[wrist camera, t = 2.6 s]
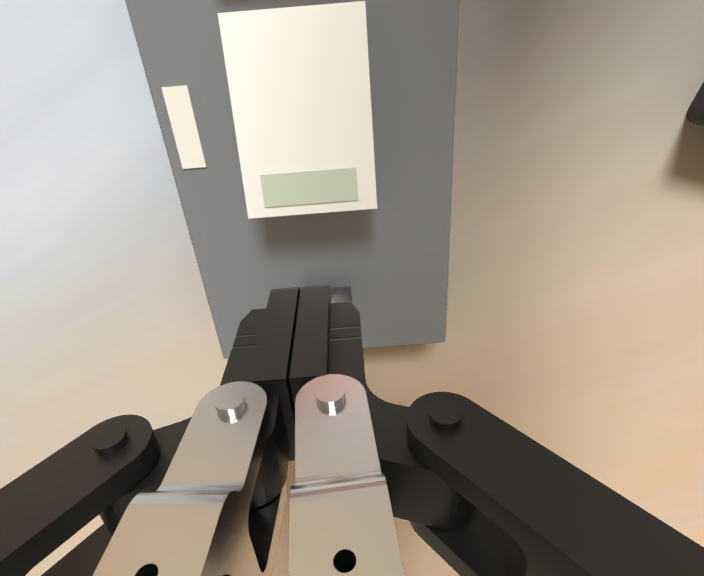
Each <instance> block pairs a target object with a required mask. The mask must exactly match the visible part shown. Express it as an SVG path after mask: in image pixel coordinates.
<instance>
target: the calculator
mask: <svg viewBox="0 0 704 576" xmlns="http://www.w3.org/2000/svg"><path fill="white" fill-rule="evenodd" d="M686 116H687V119H688V120H689V121H691V122H693V123H697V124H701V125H704V82H703V84H702V86H701V88H700V89H699V91H698V93H697V95H696V96H695V98H694V100H693V101H692V103H691V105H690V107H689V109H688V111H687V115H686Z"/></svg>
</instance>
